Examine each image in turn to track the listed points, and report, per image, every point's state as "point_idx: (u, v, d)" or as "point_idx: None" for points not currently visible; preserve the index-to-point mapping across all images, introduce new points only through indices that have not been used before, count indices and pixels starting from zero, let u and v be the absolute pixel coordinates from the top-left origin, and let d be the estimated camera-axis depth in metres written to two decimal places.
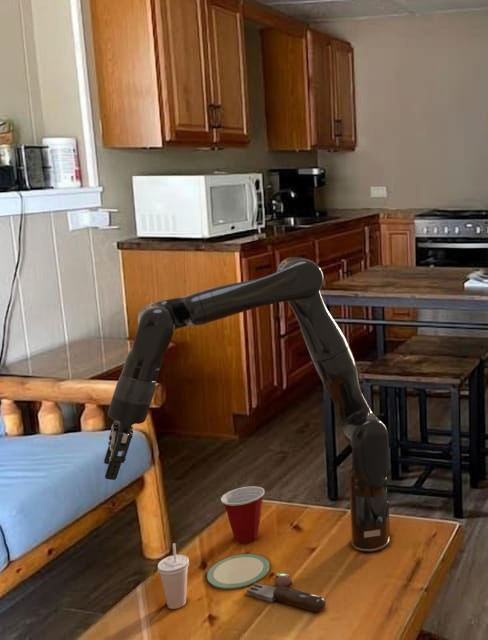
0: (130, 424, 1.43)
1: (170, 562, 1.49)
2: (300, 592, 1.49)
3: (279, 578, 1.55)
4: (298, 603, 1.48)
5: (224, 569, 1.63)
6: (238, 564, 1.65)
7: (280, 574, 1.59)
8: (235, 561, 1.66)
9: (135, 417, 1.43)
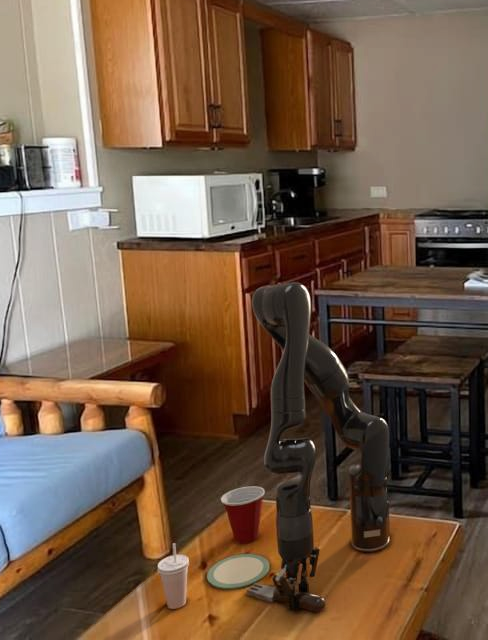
0: None
1: (170, 562, 1.49)
2: (300, 592, 1.49)
3: None
4: None
5: (224, 569, 1.63)
6: (238, 564, 1.65)
7: None
8: (235, 561, 1.66)
9: None
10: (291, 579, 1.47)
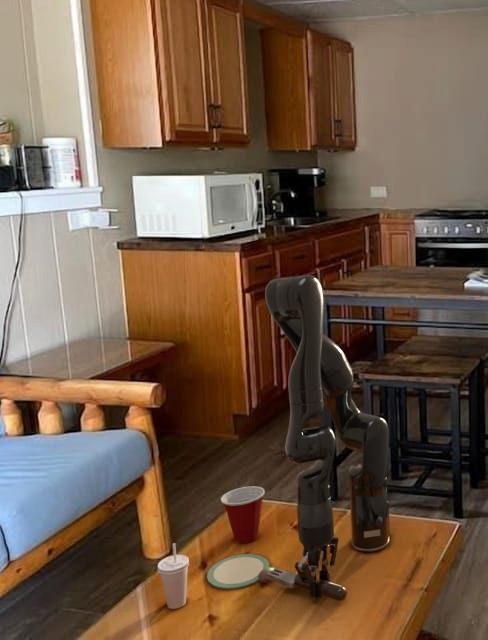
0: None
1: (170, 562, 1.49)
2: (322, 580, 1.52)
3: None
4: (320, 591, 1.50)
5: (224, 569, 1.63)
6: (238, 564, 1.65)
7: (270, 568, 1.61)
8: (235, 561, 1.66)
9: None
10: (312, 567, 1.50)
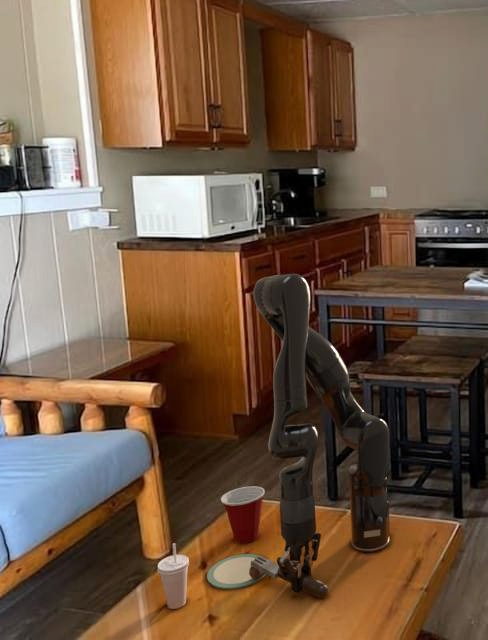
0: None
1: (170, 562, 1.49)
2: (305, 575, 1.53)
3: None
4: (302, 585, 1.52)
5: (224, 569, 1.63)
6: (238, 564, 1.65)
7: None
8: (235, 561, 1.66)
9: None
10: (294, 562, 1.51)
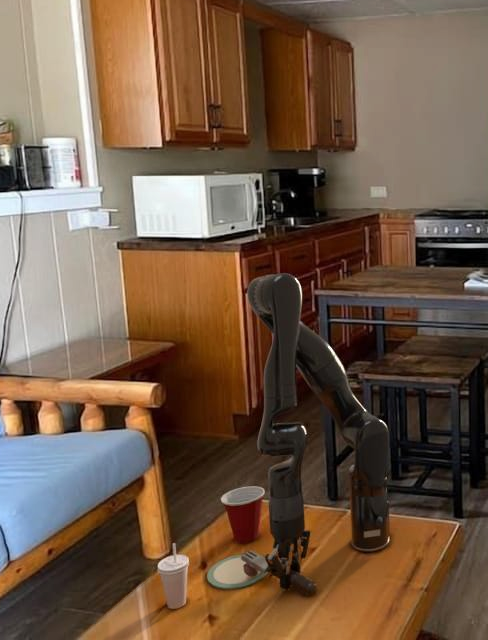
0: None
1: (170, 562, 1.49)
2: (295, 572, 1.55)
3: None
4: (291, 582, 1.53)
5: (224, 569, 1.63)
6: (238, 564, 1.65)
7: None
8: (235, 561, 1.66)
9: None
10: (283, 559, 1.53)
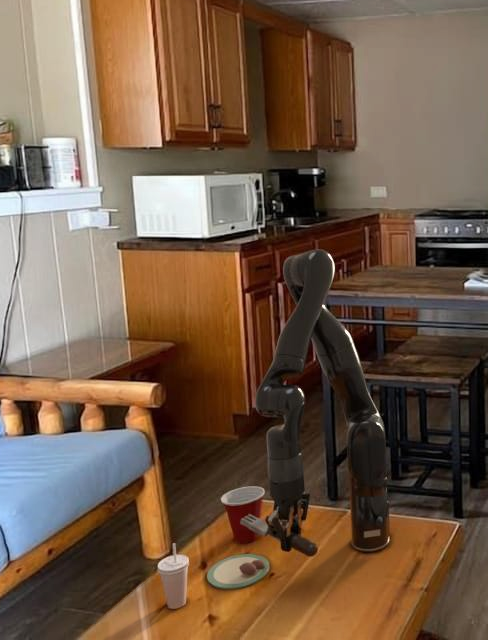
0: None
1: (170, 562, 1.49)
2: (295, 534, 1.54)
3: (249, 574, 1.60)
4: (291, 544, 1.52)
5: (224, 569, 1.63)
6: (238, 564, 1.65)
7: None
8: (235, 561, 1.66)
9: None
10: (283, 521, 1.52)
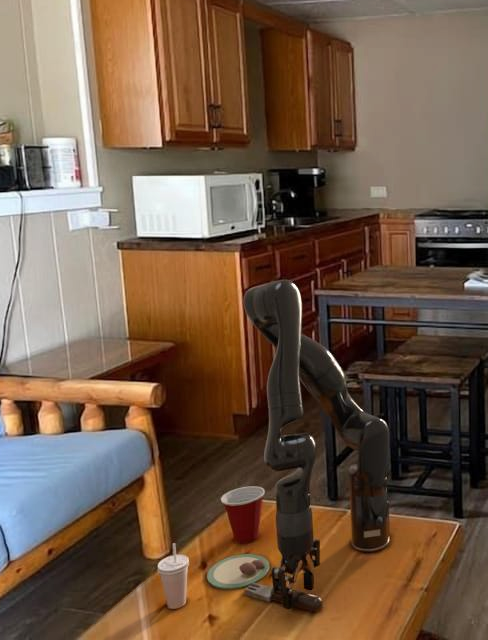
0: None
1: (170, 562, 1.49)
2: (297, 592, 1.49)
3: (249, 574, 1.60)
4: (295, 603, 1.48)
5: (224, 569, 1.63)
6: (238, 564, 1.65)
7: None
8: (235, 561, 1.66)
9: None
10: (288, 577, 1.46)
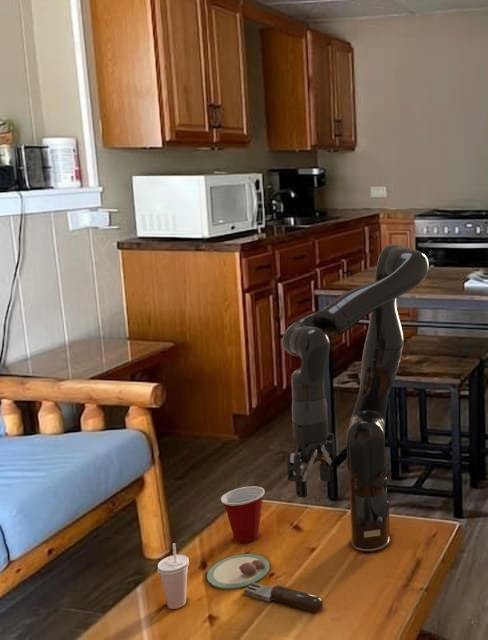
0: None
1: (170, 562, 1.49)
2: (297, 592, 1.49)
3: (249, 574, 1.60)
4: (295, 603, 1.48)
5: (224, 569, 1.63)
6: (238, 564, 1.65)
7: None
8: (235, 561, 1.66)
9: None
10: (302, 465, 1.47)
